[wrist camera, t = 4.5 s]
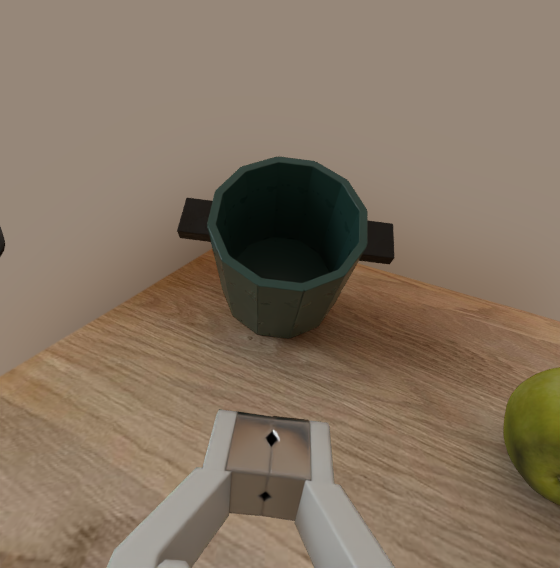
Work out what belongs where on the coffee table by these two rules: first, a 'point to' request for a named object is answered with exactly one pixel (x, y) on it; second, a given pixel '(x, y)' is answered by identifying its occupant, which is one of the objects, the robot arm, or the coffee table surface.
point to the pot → (285, 242)
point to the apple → (536, 432)
